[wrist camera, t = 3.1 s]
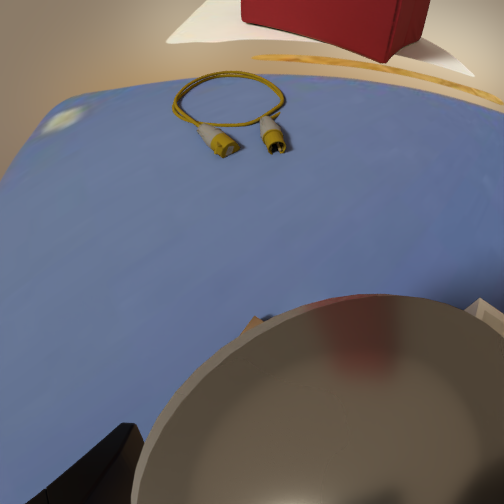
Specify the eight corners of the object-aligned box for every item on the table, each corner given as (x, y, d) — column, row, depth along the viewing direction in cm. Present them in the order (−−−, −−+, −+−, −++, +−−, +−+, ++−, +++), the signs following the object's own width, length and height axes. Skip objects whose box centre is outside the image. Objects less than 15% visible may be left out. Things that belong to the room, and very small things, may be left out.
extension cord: (143, 160, 26) (137, 143, 24) (193, 78, 34) (191, 64, 32) (283, 169, 25) (285, 150, 23) (293, 82, 33) (294, 68, 31)
